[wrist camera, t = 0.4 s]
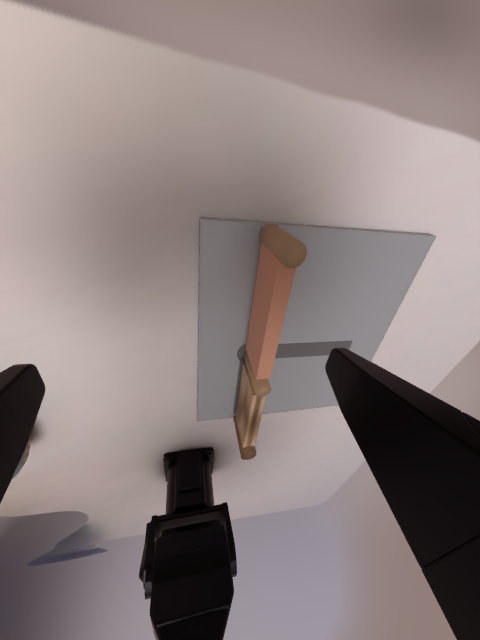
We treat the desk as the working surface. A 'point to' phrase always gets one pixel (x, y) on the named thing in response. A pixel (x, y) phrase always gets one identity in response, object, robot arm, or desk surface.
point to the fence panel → (270, 301)
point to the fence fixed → (247, 415)
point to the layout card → (297, 307)
